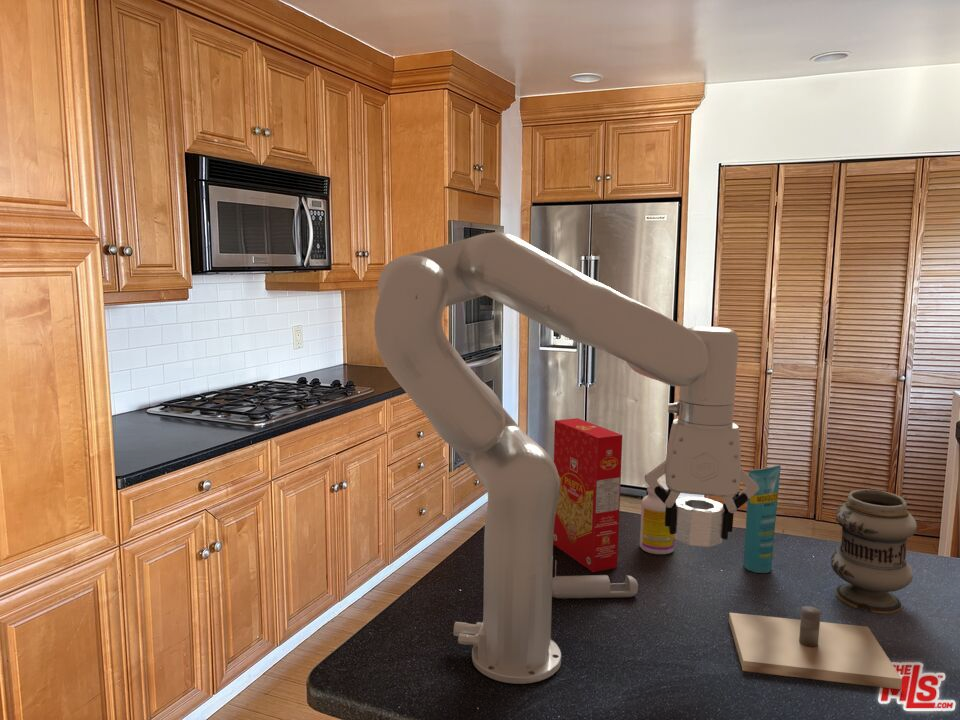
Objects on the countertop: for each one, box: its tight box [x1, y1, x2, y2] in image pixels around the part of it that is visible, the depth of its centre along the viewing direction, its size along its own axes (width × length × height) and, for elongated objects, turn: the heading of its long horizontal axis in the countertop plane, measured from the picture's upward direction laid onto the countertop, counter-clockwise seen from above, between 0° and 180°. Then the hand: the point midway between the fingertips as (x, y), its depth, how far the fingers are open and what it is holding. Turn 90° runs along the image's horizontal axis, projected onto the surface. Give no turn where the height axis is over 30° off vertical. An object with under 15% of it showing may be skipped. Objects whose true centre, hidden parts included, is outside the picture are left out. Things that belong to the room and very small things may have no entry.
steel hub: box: [674, 496, 724, 548], centre depth 105 cm, size 7×7×5 cm
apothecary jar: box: [830, 488, 918, 614], centre depth 120 cm, size 12×12×18 cm
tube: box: [743, 464, 781, 574], centre depth 132 cm, size 7×5×19 cm, turn 120°
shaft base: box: [728, 605, 903, 690], centre depth 104 cm, size 20×14×6 cm
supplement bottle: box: [639, 481, 676, 556], centre depth 141 cm, size 7×7×13 cm
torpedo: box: [552, 559, 639, 600], centre depth 121 cm, size 18×5×7 cm, turn 94°
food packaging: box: [553, 417, 623, 573], centre depth 137 cm, size 15×5×25 cm, turn 25°
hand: (697, 532), depth 105 cm, fingers closed on steel hub, 6 cm apart
